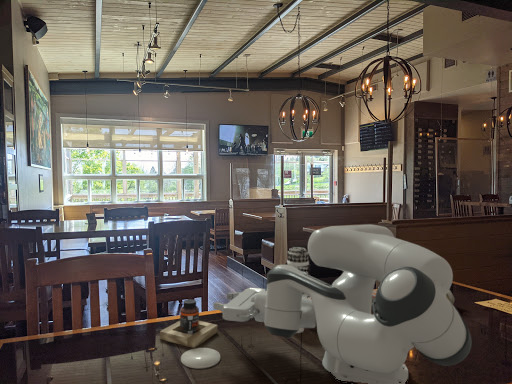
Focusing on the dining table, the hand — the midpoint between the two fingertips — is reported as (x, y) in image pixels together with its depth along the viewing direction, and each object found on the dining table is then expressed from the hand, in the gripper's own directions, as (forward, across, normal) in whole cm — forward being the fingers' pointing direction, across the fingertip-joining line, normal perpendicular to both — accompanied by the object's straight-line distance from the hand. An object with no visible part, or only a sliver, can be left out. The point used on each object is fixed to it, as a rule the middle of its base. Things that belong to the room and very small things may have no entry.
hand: (221, 300), depth 120 cm
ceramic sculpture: (-68, +60, -13) cm, 91 cm away
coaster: (+1, -11, -14) cm, 17 cm away
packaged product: (-48, +57, -14) cm, 75 cm away
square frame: (+12, +1, -14) cm, 18 cm away
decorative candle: (-16, +32, -14) cm, 39 cm away
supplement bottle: (+12, +1, -14) cm, 18 cm away
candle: (-19, +19, -14) cm, 30 cm away
